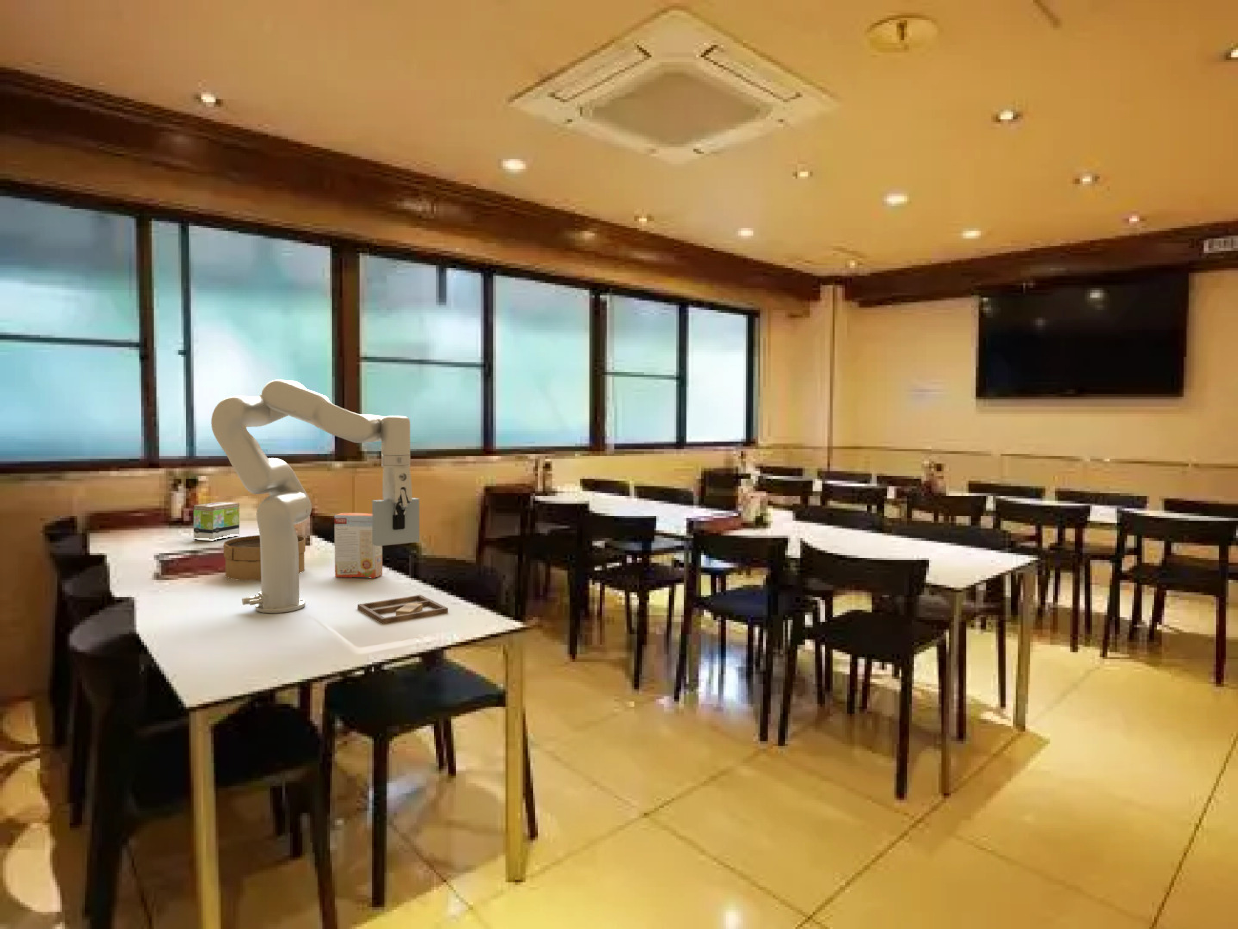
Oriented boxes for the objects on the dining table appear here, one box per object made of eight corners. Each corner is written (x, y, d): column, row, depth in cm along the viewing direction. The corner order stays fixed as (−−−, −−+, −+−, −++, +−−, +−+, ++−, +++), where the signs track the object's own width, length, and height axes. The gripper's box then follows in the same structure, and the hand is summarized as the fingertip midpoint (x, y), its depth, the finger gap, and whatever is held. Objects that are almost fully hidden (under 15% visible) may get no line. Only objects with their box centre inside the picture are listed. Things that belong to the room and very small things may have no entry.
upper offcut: (410, 618, 191) (410, 611, 191) (395, 617, 192) (395, 610, 192) (422, 610, 199) (422, 603, 199) (408, 609, 200) (408, 603, 200)
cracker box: (383, 575, 246) (382, 513, 244) (375, 579, 240) (374, 515, 238) (343, 573, 247) (342, 511, 245) (334, 577, 241) (333, 514, 239)
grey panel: (376, 546, 196) (376, 501, 195) (372, 544, 198) (372, 500, 198) (419, 541, 204) (419, 498, 203) (414, 540, 206) (414, 497, 205)
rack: (382, 628, 186) (382, 619, 185) (357, 613, 199) (357, 604, 199) (447, 617, 197) (447, 608, 197) (420, 603, 210) (420, 594, 210)
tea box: (213, 542, 300) (212, 506, 299) (193, 540, 302) (192, 505, 301) (240, 536, 315) (239, 502, 314) (220, 535, 317) (220, 501, 316)
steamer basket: (225, 583, 230) (225, 548, 229) (222, 569, 251) (221, 537, 251) (310, 576, 243) (310, 542, 242) (300, 563, 264) (299, 532, 263)
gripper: (421, 462, 195) (421, 531, 197) (397, 459, 208) (397, 523, 209) (393, 463, 191) (394, 533, 192) (371, 459, 203) (371, 525, 205)
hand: (396, 527), depth 201 cm, fingers closed on grey panel, 3 cm apart
